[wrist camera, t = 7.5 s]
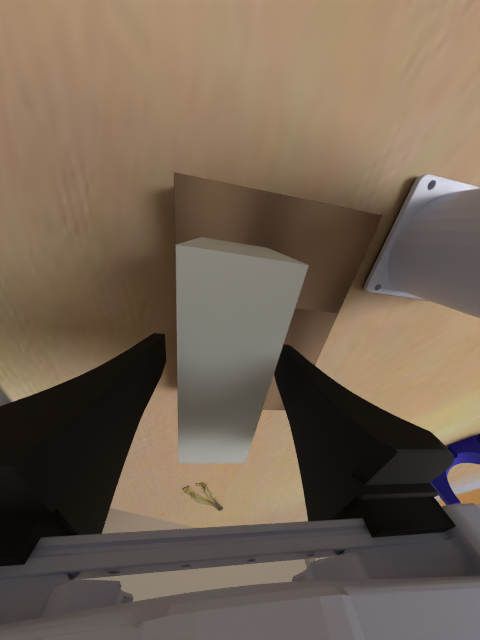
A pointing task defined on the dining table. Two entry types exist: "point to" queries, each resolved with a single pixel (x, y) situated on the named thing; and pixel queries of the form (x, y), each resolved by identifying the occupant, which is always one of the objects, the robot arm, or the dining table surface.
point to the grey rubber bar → (228, 342)
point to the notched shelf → (283, 247)
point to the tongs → (201, 499)
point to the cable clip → (464, 452)
